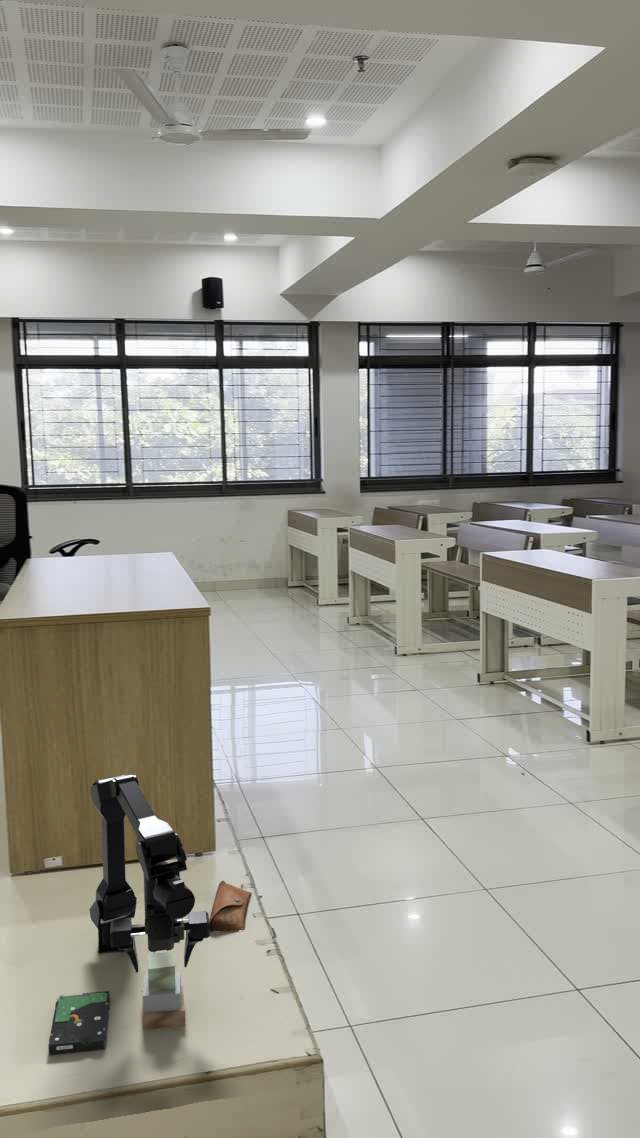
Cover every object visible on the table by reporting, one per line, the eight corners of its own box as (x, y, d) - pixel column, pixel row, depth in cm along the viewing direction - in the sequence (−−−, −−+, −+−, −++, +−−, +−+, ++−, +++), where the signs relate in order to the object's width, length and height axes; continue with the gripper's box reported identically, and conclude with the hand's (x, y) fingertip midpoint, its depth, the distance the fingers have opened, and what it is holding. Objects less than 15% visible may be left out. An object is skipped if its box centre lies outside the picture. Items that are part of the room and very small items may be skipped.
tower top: (142, 1012, 177) (142, 995, 177) (145, 989, 184) (145, 973, 183) (180, 1010, 178) (179, 993, 177) (181, 987, 185) (180, 971, 184)
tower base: (142, 1032, 177) (142, 1015, 176) (142, 1006, 185) (142, 990, 184) (185, 1027, 178) (185, 1010, 178) (183, 1001, 186) (182, 985, 186)
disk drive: (106, 1052, 172) (110, 1001, 186) (106, 1039, 171) (109, 989, 185) (48, 1059, 170) (56, 1007, 184) (48, 1045, 169) (55, 994, 184)
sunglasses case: (246, 931, 210) (230, 908, 209) (219, 946, 211) (204, 922, 210) (252, 891, 228) (238, 869, 227) (228, 904, 228) (213, 882, 228)
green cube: (149, 992, 178) (148, 969, 177) (148, 977, 182) (147, 954, 182) (175, 989, 179) (174, 966, 178) (174, 974, 183) (173, 951, 183)
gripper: (108, 921, 168) (110, 999, 171) (211, 911, 171) (212, 988, 174) (109, 890, 179) (112, 964, 181) (207, 881, 182) (208, 954, 185)
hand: (161, 968), depth 180 cm, fingers open, 9 cm apart
